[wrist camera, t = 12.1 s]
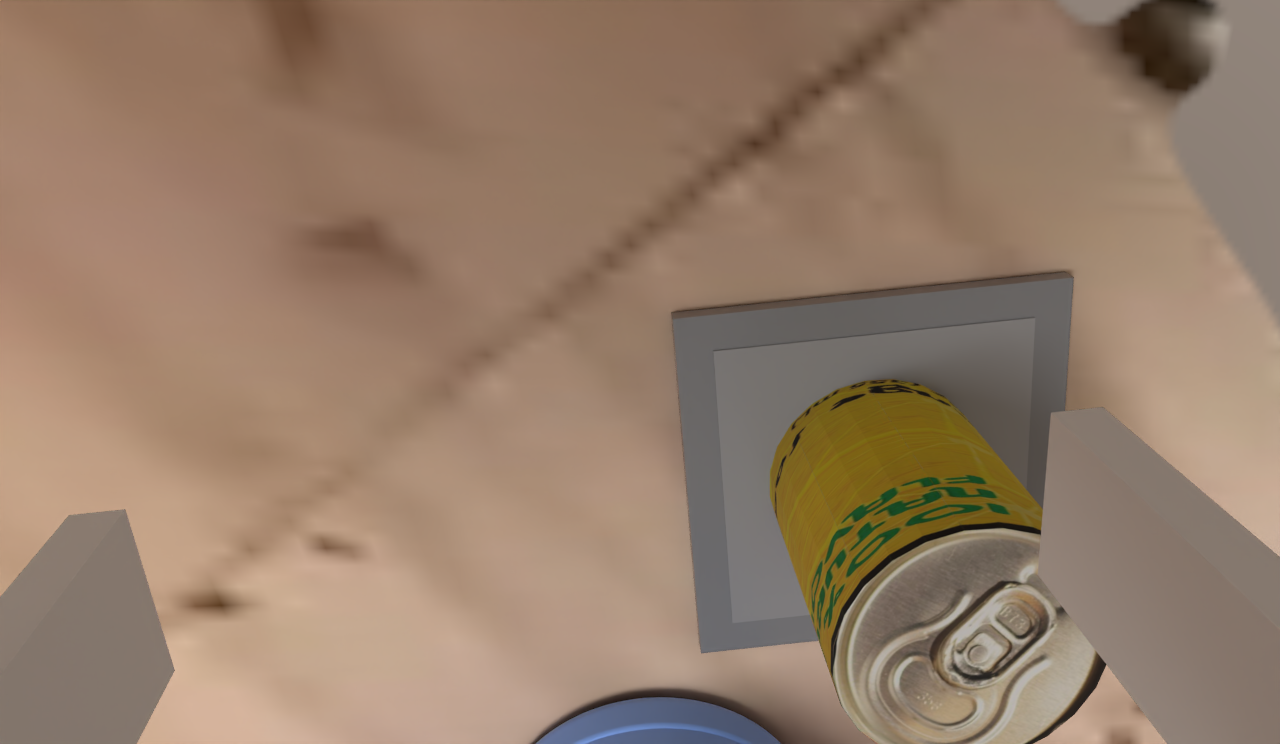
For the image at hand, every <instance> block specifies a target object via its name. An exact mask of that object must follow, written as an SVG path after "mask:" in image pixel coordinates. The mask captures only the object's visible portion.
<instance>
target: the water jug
mask: <svg viewBox="0 0 1280 744" xmlns="http://www.w3.org/2000/svg"><path fill="white" fill-rule="evenodd" d="M536 744H781V743H780V742H779V741H778V740H777V739H776V738H775V737H774V736H772V735H771V734H770V733H769V732H767V731H766V730H765V729H763V728H762V727H761V726H759V725H758V724H756V723H755V722H753V721H751V720H749V719H748V718H746V717H744V716H742V715H740V714H738V713H736V712H733V711H731V710H728V709H726V708H723V707H720V706H717V705H713V704H710V703H706V702H702V701H697V700H691V699H683V698H672V697H650V698H638V699H631V700H625V701H620V702H615V703H611V704H608V705H604V706H601V707H598V708H595V709H592V710H590V711H587V712H585V713H582V714H580V715H578V716H576V717H574V718H572V719H570V720H568V721H566V722H564V723H563V724H561V725H559V726H558V727H556V728H555V729H553V730H552V731H550V732H549V733H548V734H546V735H545V736H544V737H543V738H541V739H540V740H539V741H538V742H537V743H536Z"/></svg>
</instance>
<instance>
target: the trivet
mask: <svg viewBox="0 0 1280 744" xmlns="http://www.w3.org/2000/svg"><path fill="white" fill-rule="evenodd" d="M1073 278H1074V277H1072V276H1070V275H1069V274H1067V273H1066V272H1059V273H1049V274H1040V275H1030V276H1020V277H1011V278H1001V279H991V280H982V281H972V282H963V283H953V284H943V285H934V286H924V287H914V288H905V289H895V290H885V291H876V292H866V293H856V294H847V295H837V296H827V297H818V298H808V299H798V300H789V301H779V302H769V303H760V304H750V305H741V306H731V307H721V308H712V309H702V310H692V311H683V312H673V313H671V316H672V328H673V340H674V351H675V363H676V375H677V387H678V399H679V410H680V422H681V434H682V446H683V457H684V469H685V481H686V493H687V504H688V516H689V528H690V540H691V552H692V563H693V575H694V587H695V599H696V610H697V622H698V634H699V644H700V650H701V653H708V652H717V651H726V650H735V649H745V648H754V647H763V646H772V645H782V644H791V643H800V642H809V641H819V640H818V637H817V634H816V631H815V628H814V625H813V623H812V620H811V617H810V614H809V611H808V608H807V605H806V602H805V599H804V597H803V594H802V591H801V588H800V585H799V582H798V579H797V576H796V573H795V571H794V568H793V565H792V562H791V559H790V556H789V553H788V550H787V547H786V545H785V542H784V539H783V536H782V533H781V530H780V527H779V524H778V521H777V518H776V515H775V512H774V509H773V505H772V502H771V499H770V469H771V466H772V463H773V459H774V456H775V452H776V449H777V446H778V445H779V443H780V441H781V440H782V438H783V437H784V435H785V433H786V432H787V430H788V428H789V427H790V425H791V424H792V423H793V422H794V421H795V420H796V419H797V418H798V417H799V416H800V415H801V414H802V413H803V412H804V411H805V410H806V409H807V408H808V407H809V406H810V405H811V404H813V403H814V402H816V401H818V400H819V399H821V398H823V397H825V396H826V395H828V394H830V393H831V392H833V391H835V390H836V389H839V388H843V387H846V386H849V385H852V384H856V383H859V382H862V381H869V380H885V379H896V380H901V381H906V382H911V383H916V384H921V385H923V386H925V387H927V388H929V389H931V390H933V391H935V392H937V393H939V394H941V395H943V396H945V397H946V398H947V399H948V400H949V401H950V402H951V403H952V404H953V405H954V406H955V407H956V408H958V409H959V410H960V411H961V412H962V413H963V414H964V416H965V417H966V418H967V419H968V420H969V422H970V423H971V424H972V425H973V426H974V428H975V429H976V430H977V431H978V432H979V433H980V435H981V436H982V437H983V438H984V439H985V441H986V442H987V443H988V444H989V445H990V447H991V448H992V449H993V450H994V451H995V453H996V454H997V455H998V456H999V457H1000V459H1001V460H1002V461H1003V462H1004V463H1005V465H1006V466H1007V467H1008V468H1009V469H1010V471H1011V472H1012V473H1013V474H1014V475H1015V477H1016V478H1017V479H1018V480H1019V481H1020V483H1021V484H1022V485H1023V486H1024V487H1025V489H1026V490H1027V491H1028V492H1029V493H1030V495H1031V496H1032V497H1033V498H1034V499H1035V501H1036V502H1037V503H1038V504H1039V505H1040V507H1041V508H1042V509H1043V503H1044V491H1045V479H1046V466H1047V454H1048V442H1049V430H1050V418H1051V413H1052V412H1061V411H1065V401H1066V386H1067V371H1068V355H1069V340H1070V325H1071V309H1072V294H1073Z"/></svg>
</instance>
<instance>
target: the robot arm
mask: <svg viewBox="0 0 1280 744" xmlns="http://www.w3.org/2000/svg"><path fill="white" fill-rule="evenodd" d="M1038 576H1039V577H1040V578H1041V580H1042V581H1043V582H1044V584H1045V585H1046V586H1047V587H1048V589H1049V590H1050V591H1051V593H1052V594H1053V595H1054V597H1055V598H1056V599H1057V601H1058V602H1059V603H1060V604H1061V606H1062V607H1063V608H1064V610H1065V611H1066V612H1067V614H1068V615H1069V616H1070V618H1071V619H1072V620H1073V621H1074V623H1075V624H1076V625H1077V627H1078V628H1079V629H1080V631H1081V632H1082V633H1083V634H1084V636H1085V637H1086V638H1087V640H1088V641H1089V642H1090V644H1091V645H1092V646H1093V648H1094V649H1095V650H1096V651H1097V653H1098V654H1099V655H1100V657H1101V658H1102V659H1103V661H1104V662H1105V663H1106V665H1107V666H1108V667H1109V668H1110V670H1111V671H1112V672H1113V674H1114V675H1115V676H1116V678H1117V679H1118V680H1119V682H1120V683H1121V684H1122V685H1123V687H1124V688H1125V689H1126V691H1127V692H1128V693H1129V695H1130V696H1131V697H1132V699H1133V700H1134V701H1135V702H1136V704H1137V705H1138V706H1139V708H1140V709H1141V710H1142V712H1143V713H1144V714H1145V716H1146V717H1147V718H1148V719H1149V721H1150V722H1151V723H1152V725H1153V726H1154V727H1155V729H1156V730H1157V731H1158V733H1159V734H1160V735H1161V736H1162V738H1163V739H1164V740H1165V742H1166V743H1167V744H1280V557H1279V556H1278V555H1277V554H1276V553H1274V552H1273V551H1272V550H1271V549H1270V548H1268V547H1267V546H1266V545H1265V544H1264V543H1263V542H1261V541H1260V540H1259V539H1258V538H1257V537H1256V536H1254V535H1253V534H1252V533H1251V532H1250V531H1248V530H1247V529H1246V528H1245V527H1244V526H1243V525H1241V524H1240V523H1239V522H1238V521H1237V520H1235V519H1234V518H1233V517H1232V516H1231V515H1230V514H1228V513H1227V512H1226V511H1225V510H1224V509H1222V508H1221V507H1220V506H1219V505H1218V504H1217V503H1215V502H1214V501H1213V500H1212V499H1211V498H1209V497H1208V496H1207V495H1206V494H1205V493H1204V492H1202V491H1201V490H1200V489H1199V488H1198V487H1197V486H1195V485H1194V484H1193V483H1192V482H1191V481H1189V480H1188V479H1187V478H1186V477H1185V476H1184V475H1182V474H1181V473H1180V472H1179V471H1178V470H1176V469H1175V468H1174V467H1173V466H1172V465H1171V464H1169V463H1168V462H1167V461H1166V460H1165V459H1163V458H1162V457H1161V456H1160V455H1159V454H1158V453H1156V452H1155V451H1154V450H1153V449H1152V448H1151V447H1149V446H1148V445H1147V444H1146V443H1145V442H1143V441H1142V440H1141V439H1140V438H1139V437H1138V436H1136V435H1135V434H1134V433H1133V432H1132V431H1130V430H1129V429H1128V428H1127V427H1126V426H1125V425H1123V424H1122V423H1121V422H1120V421H1119V420H1117V419H1116V418H1115V417H1114V416H1113V415H1112V414H1110V413H1109V412H1108V411H1107V410H1106V409H1104V408H1103V407H1099V408H1090V409H1080V410H1071V411H1061V412H1052V413H1051V418H1050V430H1049V442H1048V454H1047V466H1046V479H1045V491H1044V503H1043V515H1042V527H1041V539H1040V552H1039V564H1038ZM174 671H175V670H174V667H173V663H172V660H171V657H170V654H169V650H168V647H167V644H166V641H165V637H164V634H163V631H162V628H161V624H160V621H159V618H158V615H157V611H156V608H155V605H154V602H153V598H152V595H151V592H150V589H149V585H148V582H147V579H146V575H145V572H144V569H143V566H142V562H141V559H140V556H139V553H138V549H137V546H136V543H135V540H134V536H133V533H132V530H131V527H130V523H129V520H128V517H127V514H126V510H125V509H124V510H115V511H105V512H96V513H86V514H77V515H69V516H68V517H67V518H66V519H65V521H64V522H63V523H62V524H61V525H60V527H59V528H58V529H57V530H56V531H55V533H54V534H53V535H52V536H51V537H50V538H49V540H48V541H47V542H46V543H45V544H44V546H43V547H42V548H41V549H40V550H39V552H38V553H37V554H36V555H35V556H34V557H33V559H32V560H31V561H30V562H29V563H28V565H27V566H26V567H25V568H24V569H23V571H22V572H21V573H20V574H19V575H18V577H17V578H16V579H15V580H14V581H13V582H12V584H11V585H10V586H9V587H8V588H7V590H6V591H5V592H4V593H3V594H2V596H1V597H0V744H137V742H138V740H139V738H140V736H141V734H142V732H143V731H144V729H145V727H146V725H147V723H148V721H149V719H150V717H151V715H152V713H153V711H154V709H155V707H156V705H157V703H158V702H159V700H160V698H161V696H162V694H163V692H164V690H165V688H166V686H167V684H168V682H169V680H170V678H171V676H172V675H173V673H174Z"/></svg>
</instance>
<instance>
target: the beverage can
mask: <svg viewBox="0 0 1280 744" xmlns="http://www.w3.org/2000/svg"><path fill="white" fill-rule="evenodd" d="M770 499H771V502H772V505H773V509H774V512H775V515H776V518H777V521H778V524H779V527H780V530H781V533H782V536H783V539H784V542H785V545H786V547H787V550H788V553H789V556H790V559H791V562H792V565H793V568H794V571H795V573H796V576H797V579H798V582H799V585H800V588H801V591H802V594H803V597H804V599H805V602H806V605H807V608H808V611H809V614H810V617H811V620H812V623H813V625H814V628H815V631H816V634H817V637H818V640H819V643H820V646H821V649H822V651H823V654H824V657H825V660H826V663H827V666H828V669H829V672H830V675H831V677H832V680H833V683H834V686H835V689H836V692H837V695H838V698H839V701H840V704H841V706H842V707H843V709H844V710H845V712H846V713H847V714H848V716H849V717H850V719H851V720H852V721H853V723H854V724H855V726H856V727H857V729H858V730H859V731H861V732H862V733H863V734H865V735H866V736H867V737H869V738H870V739H871V740H873V741H874V742H875V743H876V744H1033V743H1035V742H1037V741H1039V740H1041V739H1043V738H1045V737H1047V736H1048V735H1049V734H1051V733H1052V732H1053V731H1054V730H1056V729H1057V728H1058V727H1059V726H1060V725H1062V724H1063V723H1064V722H1065V721H1067V720H1068V719H1069V718H1070V717H1072V716H1073V715H1074V714H1075V713H1076V712H1077V711H1078V709H1079V708H1080V707H1081V706H1082V704H1083V703H1084V702H1085V701H1086V699H1087V698H1088V697H1089V696H1090V694H1091V693H1092V692H1093V691H1094V689H1095V688H1096V686H1097V684H1098V682H1099V680H1100V677H1101V675H1102V673H1103V671H1104V669H1105V666H1106V663H1105V662H1104V661H1103V659H1102V658H1101V657H1100V655H1099V654H1098V653H1097V651H1096V650H1095V649H1094V648H1093V646H1092V645H1091V644H1090V642H1089V641H1088V640H1087V638H1086V637H1085V636H1084V634H1083V633H1082V632H1081V631H1080V629H1079V628H1078V627H1077V625H1076V624H1075V623H1074V621H1073V620H1072V619H1071V618H1070V616H1069V615H1068V614H1067V612H1066V611H1065V610H1064V608H1063V607H1062V606H1061V604H1060V603H1059V602H1058V601H1057V599H1056V598H1055V597H1054V595H1053V594H1052V593H1051V591H1050V590H1049V589H1048V587H1047V586H1046V585H1045V584H1044V582H1043V581H1042V580H1041V578H1040V577H1039V576H1038V564H1039V552H1040V539H1041V527H1042V515H1043V509H1042V508H1041V507H1040V505H1039V504H1038V503H1037V502H1036V501H1035V499H1034V498H1033V497H1032V496H1031V495H1030V493H1029V492H1028V491H1027V490H1026V489H1025V487H1024V486H1023V485H1022V484H1021V483H1020V481H1019V480H1018V479H1017V478H1016V477H1015V475H1014V474H1013V473H1012V472H1011V471H1010V469H1009V468H1008V467H1007V466H1006V465H1005V463H1004V462H1003V461H1002V460H1001V459H1000V457H999V456H998V455H997V454H996V453H995V451H994V450H993V449H992V448H991V447H990V445H989V444H988V443H987V442H986V441H985V439H984V438H983V437H982V436H981V435H980V433H979V432H978V431H977V430H976V429H975V428H974V426H973V425H972V424H971V423H970V422H969V420H968V419H967V418H966V417H965V416H964V414H963V413H962V412H961V411H960V410H959V409H958V408H956V407H955V406H954V405H953V404H952V403H951V402H950V401H949V400H948V399H947V398H946V397H945V396H943V395H941V394H939V393H937V392H935V391H933V390H931V389H929V388H927V387H925V386H923V385H921V384H916V383H911V382H906V381H901V380H896V379H885V380H869V381H862V382H859V383H856V384H852V385H849V386H846V387H843V388H839V389H836V390H835V391H833V392H831V393H830V394H828V395H826V396H825V397H823V398H821V399H819V400H818V401H816V402H814V403H813V404H811V405H810V406H809V407H808V408H807V409H806V410H805V411H804V412H803V413H802V414H801V415H800V416H799V417H798V418H797V419H796V420H795V421H794V422H793V423H792V424H791V425H790V427H789V428H788V430H787V432H786V433H785V435H784V437H783V438H782V440H781V441H780V443H779V445H778V446H777V449H776V452H775V456H774V459H773V463H772V466H771V469H770Z"/></svg>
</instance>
